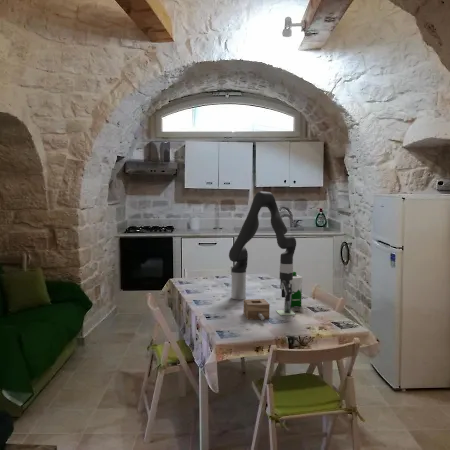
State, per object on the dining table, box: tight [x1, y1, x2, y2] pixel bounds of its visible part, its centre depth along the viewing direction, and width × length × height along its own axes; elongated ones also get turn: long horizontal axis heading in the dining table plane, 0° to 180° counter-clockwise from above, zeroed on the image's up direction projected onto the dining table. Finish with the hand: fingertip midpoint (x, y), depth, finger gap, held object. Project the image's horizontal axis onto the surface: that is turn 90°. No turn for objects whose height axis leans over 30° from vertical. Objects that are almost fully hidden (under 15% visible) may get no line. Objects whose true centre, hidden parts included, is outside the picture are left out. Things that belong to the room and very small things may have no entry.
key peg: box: [283, 290, 293, 313], centre depth 265 cm, size 5×5×13 cm
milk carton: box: [290, 271, 304, 308], centre depth 282 cm, size 9×9×20 cm
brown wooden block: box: [242, 298, 270, 321], centre depth 255 cm, size 21×12×8 cm, turn 9°
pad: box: [275, 309, 296, 317], centre depth 266 cm, size 9×9×1 cm
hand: (285, 299), depth 265 cm, fingers open, 8 cm apart
